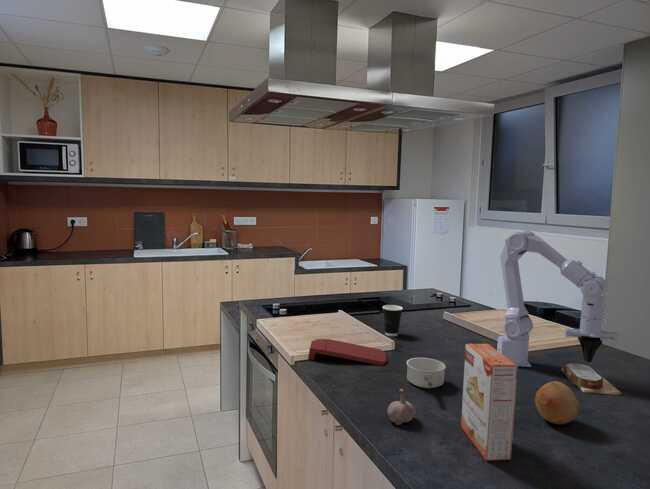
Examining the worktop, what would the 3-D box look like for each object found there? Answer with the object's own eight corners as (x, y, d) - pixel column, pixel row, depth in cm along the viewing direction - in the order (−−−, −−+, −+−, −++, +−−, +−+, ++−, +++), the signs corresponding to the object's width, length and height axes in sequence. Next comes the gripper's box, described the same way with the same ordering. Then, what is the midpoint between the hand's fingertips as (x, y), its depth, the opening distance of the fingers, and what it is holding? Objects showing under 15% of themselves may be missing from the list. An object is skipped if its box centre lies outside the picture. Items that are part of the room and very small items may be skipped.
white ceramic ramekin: (407, 401, 124) (408, 381, 123) (404, 373, 143) (405, 356, 143) (451, 405, 122) (452, 385, 121) (442, 376, 142) (443, 359, 141)
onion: (576, 436, 108) (580, 394, 107) (530, 423, 113) (533, 384, 112) (579, 419, 116) (582, 381, 115) (536, 409, 121) (539, 372, 120)
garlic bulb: (395, 429, 108) (397, 397, 108) (379, 415, 115) (381, 384, 114) (422, 424, 111) (424, 392, 111) (405, 411, 118) (407, 380, 117)
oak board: (583, 392, 133) (583, 389, 133) (561, 370, 150) (561, 368, 150) (620, 395, 132) (621, 392, 132) (594, 372, 149) (594, 370, 149)
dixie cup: (401, 332, 187) (403, 305, 186) (401, 338, 179) (402, 310, 178) (381, 330, 188) (383, 304, 187) (380, 336, 180) (381, 308, 179)
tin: (576, 387, 134) (607, 392, 133) (578, 377, 134) (609, 382, 132) (559, 369, 149) (587, 373, 148) (560, 359, 149) (589, 363, 147)
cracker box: (458, 428, 110) (464, 342, 108) (483, 427, 110) (489, 342, 108) (484, 462, 96) (490, 364, 94) (511, 461, 97) (519, 364, 94)
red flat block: (381, 363, 162) (310, 349, 163) (384, 349, 162) (312, 335, 163) (384, 377, 150) (307, 361, 151) (387, 362, 150) (309, 347, 150)
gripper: (571, 319, 136) (567, 363, 137) (624, 322, 134) (619, 367, 136) (562, 313, 143) (558, 355, 144) (612, 316, 141) (608, 359, 143)
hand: (587, 361), depth 140 cm, fingers closed
